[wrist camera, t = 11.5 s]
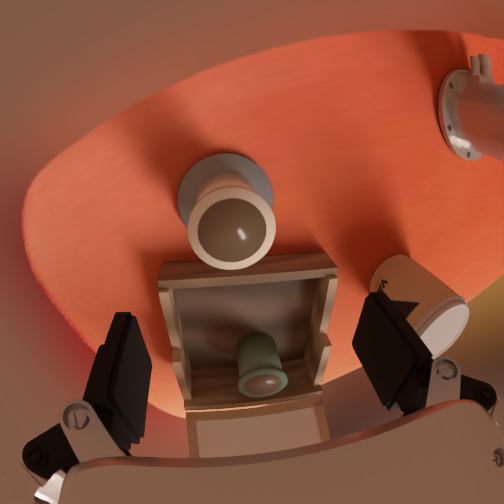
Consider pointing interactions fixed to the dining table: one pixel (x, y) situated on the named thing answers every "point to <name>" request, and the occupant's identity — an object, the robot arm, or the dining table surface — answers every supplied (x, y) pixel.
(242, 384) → the green pot
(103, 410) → the robot arm
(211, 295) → the box
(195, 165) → the slate saucer
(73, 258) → the dining table surface
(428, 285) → the coffee cup
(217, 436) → the frame lid
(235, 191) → the cream pot
